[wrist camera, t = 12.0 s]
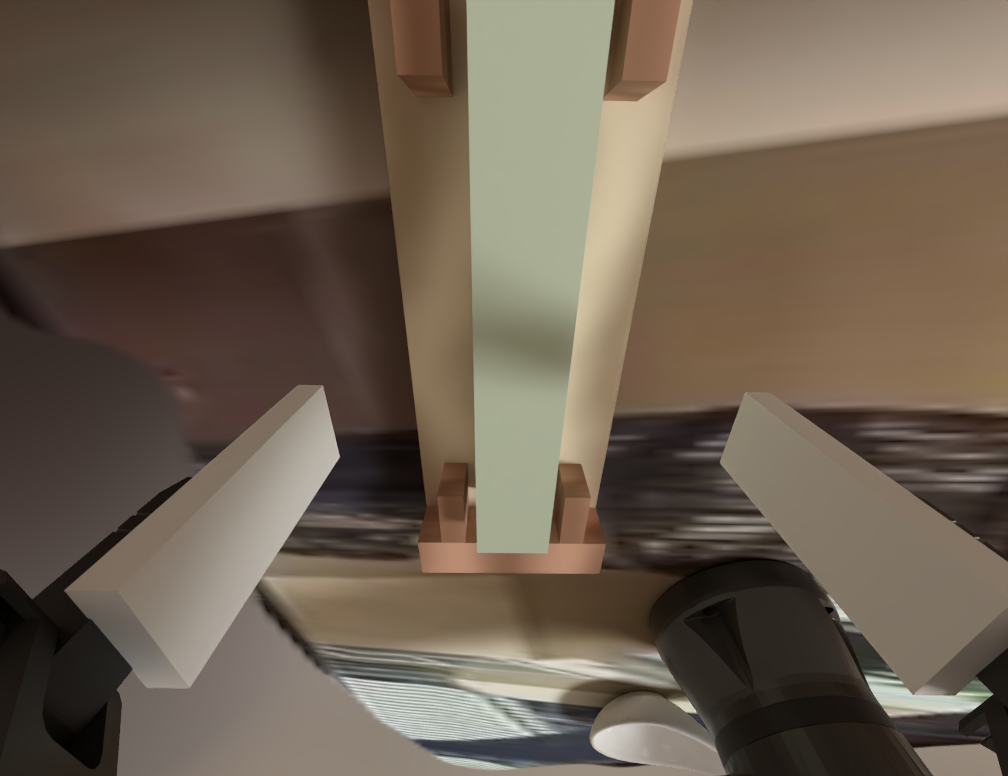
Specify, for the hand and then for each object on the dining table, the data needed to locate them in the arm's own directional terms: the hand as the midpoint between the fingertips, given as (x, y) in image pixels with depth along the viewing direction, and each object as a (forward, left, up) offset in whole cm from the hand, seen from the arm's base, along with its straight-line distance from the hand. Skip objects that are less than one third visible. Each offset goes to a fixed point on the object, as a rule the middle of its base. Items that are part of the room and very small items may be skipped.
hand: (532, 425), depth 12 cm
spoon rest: (-21, +45, -11) cm, 51 cm away
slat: (0, -1, -9) cm, 9 cm away
